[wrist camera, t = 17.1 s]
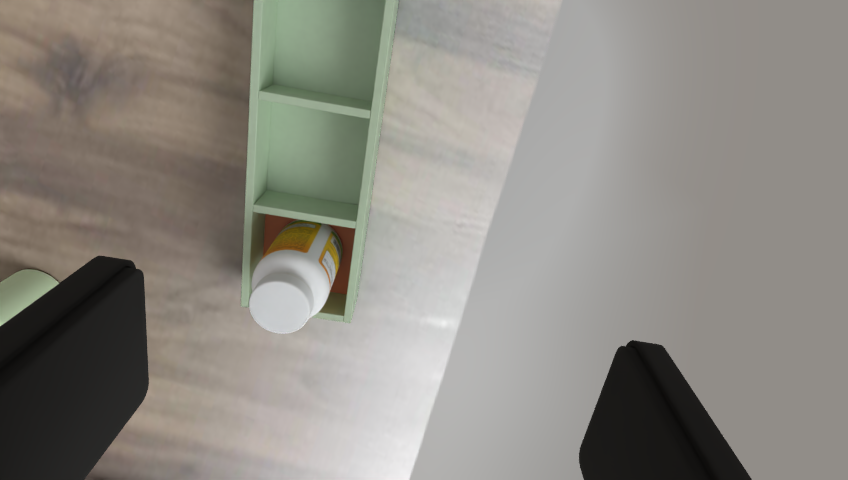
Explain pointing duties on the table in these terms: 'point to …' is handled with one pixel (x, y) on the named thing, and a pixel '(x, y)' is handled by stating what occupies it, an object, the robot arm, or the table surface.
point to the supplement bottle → (295, 276)
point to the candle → (22, 291)
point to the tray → (315, 128)
